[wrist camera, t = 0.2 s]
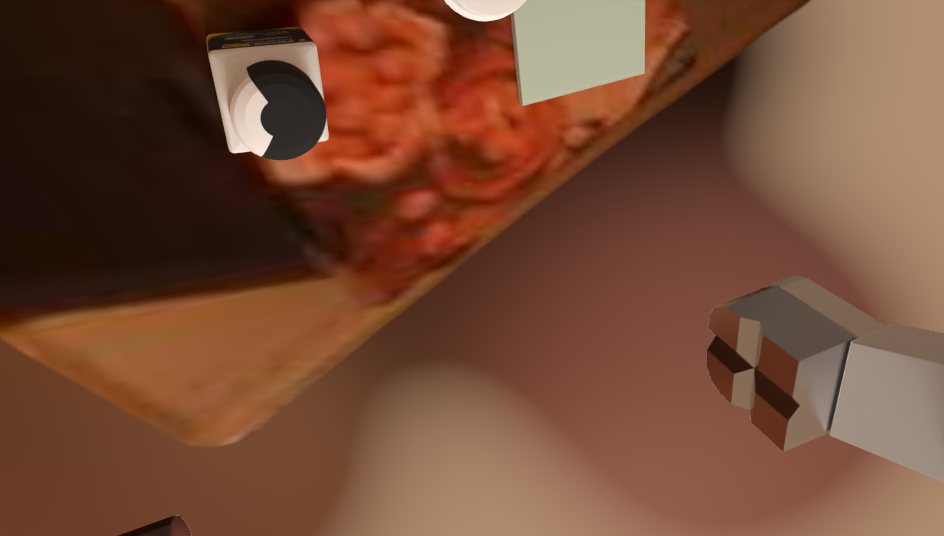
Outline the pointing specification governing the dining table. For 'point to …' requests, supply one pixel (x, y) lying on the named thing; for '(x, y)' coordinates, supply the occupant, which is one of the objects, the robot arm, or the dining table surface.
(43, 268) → the dining table surface
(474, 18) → the paper cup
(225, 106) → the medicine bottle
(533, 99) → the board
